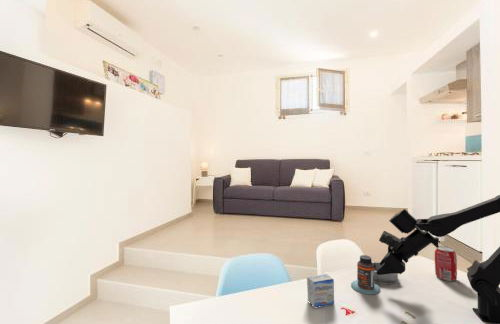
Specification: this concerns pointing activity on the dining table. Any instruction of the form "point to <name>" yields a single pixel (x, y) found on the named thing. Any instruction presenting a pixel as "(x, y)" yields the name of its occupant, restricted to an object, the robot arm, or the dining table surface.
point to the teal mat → (359, 289)
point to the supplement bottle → (365, 273)
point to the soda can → (445, 263)
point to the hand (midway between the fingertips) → (378, 268)
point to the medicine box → (320, 290)
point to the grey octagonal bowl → (384, 275)
